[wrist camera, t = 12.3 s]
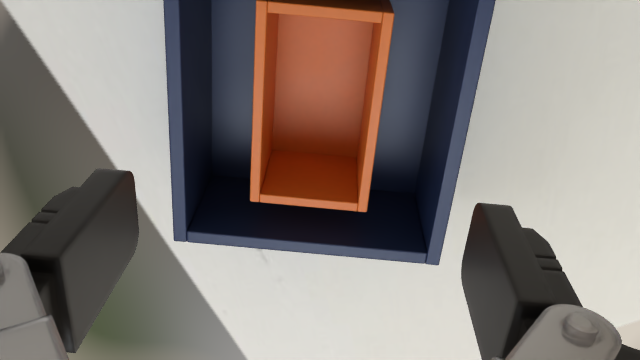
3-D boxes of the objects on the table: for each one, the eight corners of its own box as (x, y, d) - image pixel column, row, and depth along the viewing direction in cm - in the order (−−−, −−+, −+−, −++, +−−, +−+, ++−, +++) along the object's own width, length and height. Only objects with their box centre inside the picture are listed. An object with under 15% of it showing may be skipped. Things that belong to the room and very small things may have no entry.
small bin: (386, -11, 30) (394, 13, 25) (363, 162, 35) (366, 212, 29) (272, -21, 30) (255, -1, 25) (264, 152, 35) (249, 201, 29)
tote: (468, -44, 30) (501, -24, 23) (423, 199, 36) (438, 265, 30) (200, -68, 30) (160, -55, 23) (203, 179, 36) (173, 241, 30)
